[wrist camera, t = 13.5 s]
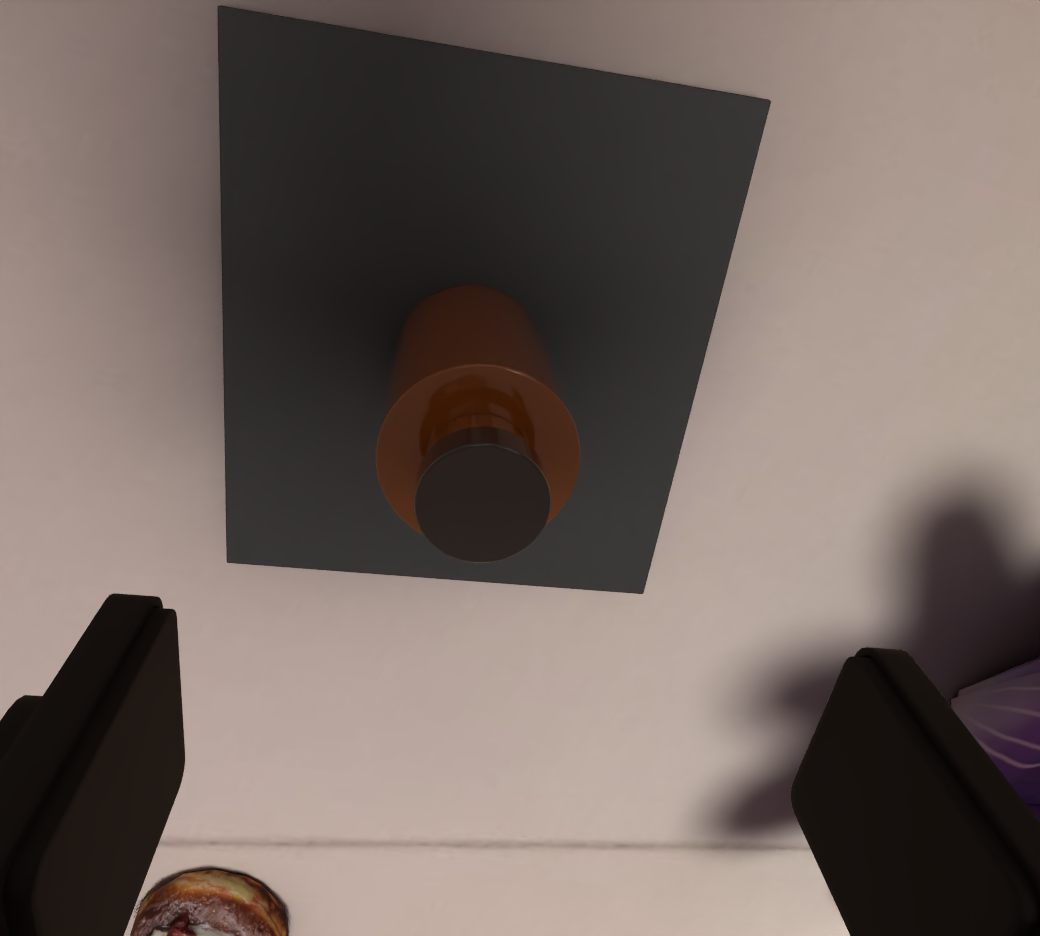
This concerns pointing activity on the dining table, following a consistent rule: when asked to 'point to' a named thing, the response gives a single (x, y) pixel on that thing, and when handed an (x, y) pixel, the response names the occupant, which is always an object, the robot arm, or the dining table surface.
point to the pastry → (210, 908)
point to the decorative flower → (1008, 725)
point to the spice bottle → (475, 426)
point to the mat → (460, 277)
